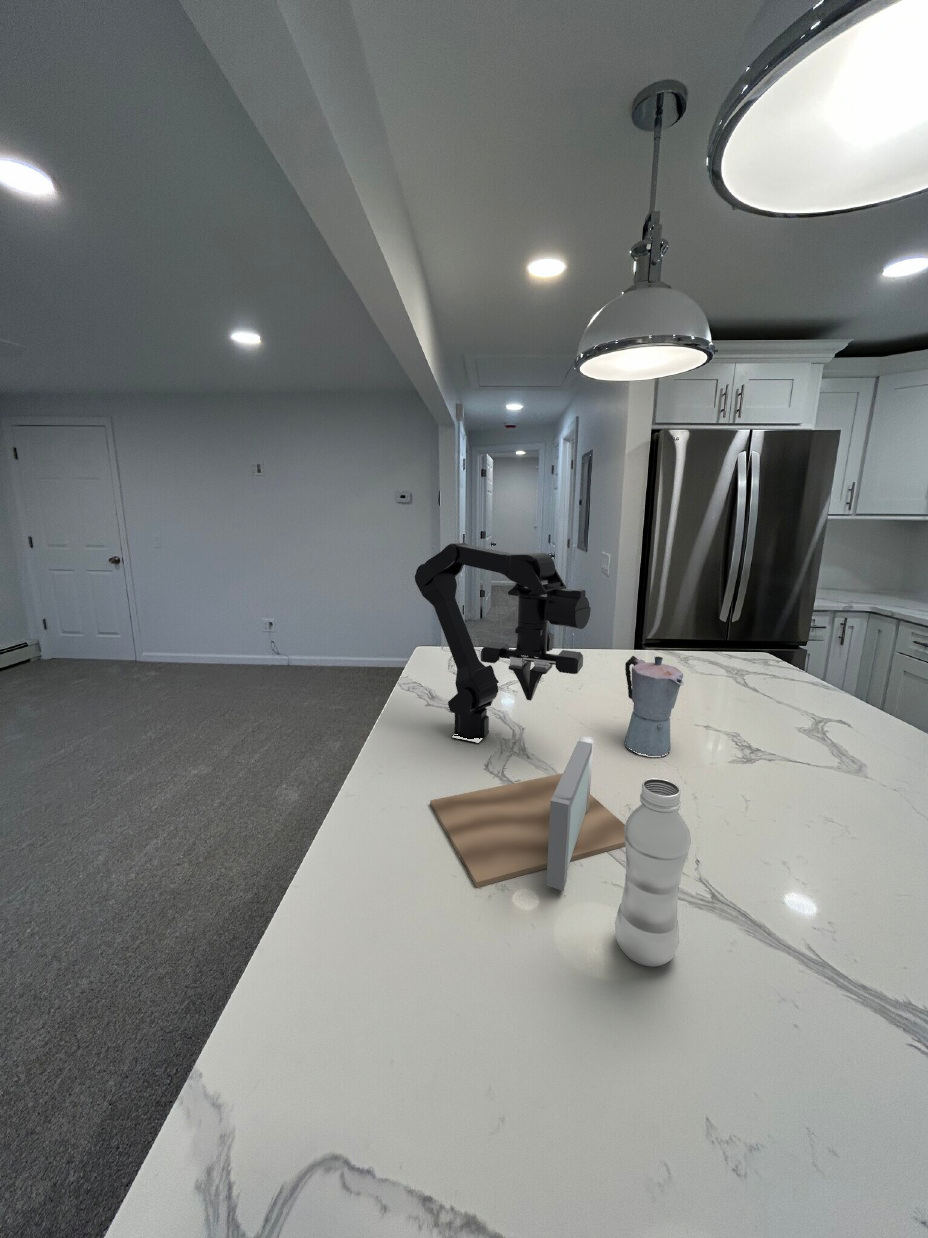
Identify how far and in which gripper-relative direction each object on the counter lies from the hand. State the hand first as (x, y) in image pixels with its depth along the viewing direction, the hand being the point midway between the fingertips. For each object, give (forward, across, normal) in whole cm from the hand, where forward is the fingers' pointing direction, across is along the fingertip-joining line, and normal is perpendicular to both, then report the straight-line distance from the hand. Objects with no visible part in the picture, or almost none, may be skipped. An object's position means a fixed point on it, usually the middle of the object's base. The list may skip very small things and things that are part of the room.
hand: (529, 699), depth 97 cm
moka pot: (+12, -21, -14) cm, 28 cm away
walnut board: (+12, -6, +21) cm, 25 cm away
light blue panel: (+11, -14, +24) cm, 30 cm away
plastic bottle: (+12, -25, +38) cm, 47 cm away
